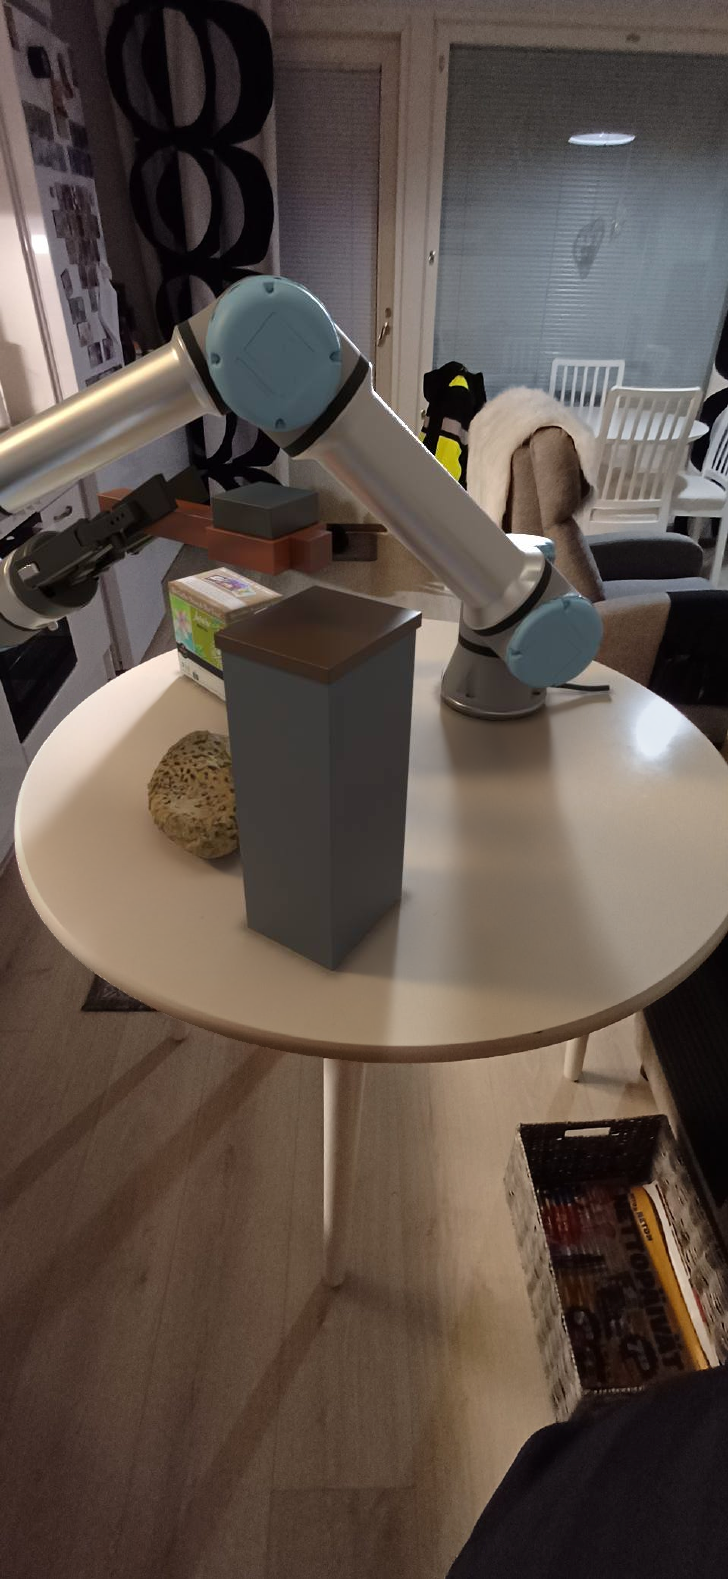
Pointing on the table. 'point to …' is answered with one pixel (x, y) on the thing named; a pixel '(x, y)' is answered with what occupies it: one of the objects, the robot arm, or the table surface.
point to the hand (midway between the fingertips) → (183, 487)
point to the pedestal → (320, 764)
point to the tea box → (211, 619)
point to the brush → (248, 527)
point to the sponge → (196, 795)
